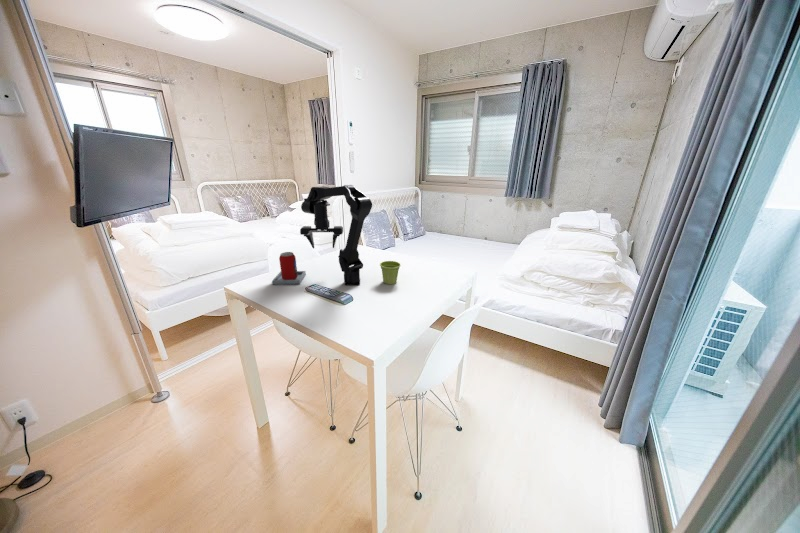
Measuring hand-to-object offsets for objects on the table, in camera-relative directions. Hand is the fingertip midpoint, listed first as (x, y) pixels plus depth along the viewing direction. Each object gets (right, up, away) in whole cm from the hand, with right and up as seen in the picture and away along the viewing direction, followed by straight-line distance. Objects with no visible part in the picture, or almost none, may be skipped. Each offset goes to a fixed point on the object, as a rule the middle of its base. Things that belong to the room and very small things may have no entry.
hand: (323, 248), depth 129 cm
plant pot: (+32, -16, -4) cm, 36 cm away
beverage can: (-14, -15, -4) cm, 21 cm away
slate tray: (-14, -15, -4) cm, 21 cm away
